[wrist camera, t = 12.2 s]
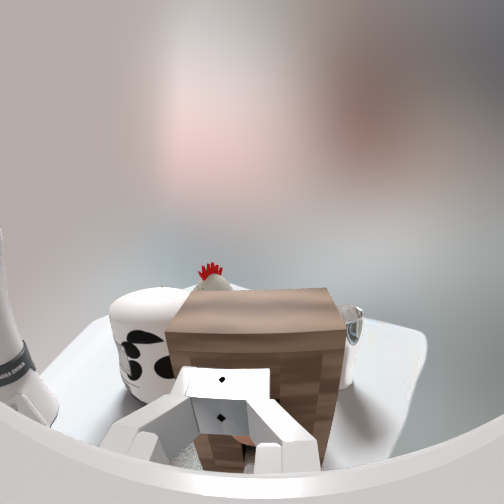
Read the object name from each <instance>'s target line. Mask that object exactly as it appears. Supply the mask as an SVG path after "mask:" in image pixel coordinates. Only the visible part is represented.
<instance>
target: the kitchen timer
mask: <svg viewBox="0 0 504 504" xmlns="http://www.w3.org/2000/svg"><path fill="white" fill-rule="evenodd" d="M218 267H219V266H218V265H216V266H214V263H213V262H212V263H211V268H210V264H207V271H206V269H205V267H204V266H202V273H201V272H199V271H198V273H199V275H200V277H201V280H200V281H199V282H198V284H197V285H196V287H195V288H194V291H233V289H232V287H231V286H230V284H229V283H228V282H227V280H226V279H224V278H223V277H222V276H221V273H222V269H223V268H221V267H220V269H219V271H218Z"/></svg>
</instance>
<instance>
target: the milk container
mask: <svg viewBox="0 0 504 504" xmlns="http://www.w3.org/2000/svg"><path fill="white" fill-rule="evenodd" d="M188 296H189V293H188V292H187V291H184V290H181V289H177V288H168V287H166V288H151V289H144V290H139V291H136V292H132V293H129V294H127V295H124V296H122V297H120V298H118V299H117V300H116V301H114V302H113V303H112V304H111V306H110V308H109V317H110V323H111V328H112V331H113V337H114V340H115V343H116V346H117V349H118V353H119V366H120V373H121V377H122V379H123V382H124V384H125V385H126V387H127V389H128V390H129V391H130V393H131V394H132V395H133V396H134V397H136V398H137V399H138V400H140V401H142V402H144V403H147V404H149V403H151V402H153V401H154V400H156V399H158V398H160V397H161V396H163V395H165V394H170V392H171V390H172V388H173V385H174V383H175V377H174V373H173V369H172V364H171V360H170V356H169V351H168V347H167V342H166V338H165V333H164V331H165V330H166V328H167V327H168V325H169V324H170V322H171V321H172V319H173V318H174V316H175V315H176V313H177V312H178V310H179V309H180V308H181V306H182V305H183V303H184V302H185V300H186V299H187V297H188Z"/></svg>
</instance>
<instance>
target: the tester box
mask: <svg viewBox="0 0 504 504" xmlns="http://www.w3.org/2000/svg"><path fill="white" fill-rule="evenodd" d="M164 333H165V338H166V342H167V347H168V351H169V356H170V360H171V364H172V369H173V373H174V377H175V381H176V379H177V377H178V375H179V372H180V370H181V368H182V367H183V366H191V367H206V368H222V369H260V368H269V369H270V399H276V402H277V403H278V404H279V405H280V406H281V407H282V408H283V409H284V410H285V411H286V412H287V413H288V414H289V415H290V416H291V417H292V418H293V419H295V420H296V421H297V422H298V423H299V424H300V425H301V426H302V427H303V428H304V429H305V430H306V431H307V432H308V433H310V434H311V435H312V436H313V437H314V438H315V439H316V440H317V446H318V453H319V460H320V467H322V463H323V459H324V455H325V451H326V447H327V443H328V439H329V434H330V430H331V426H332V421H333V416H334V411H335V406H336V401H337V396H338V390H339V384H340V378H341V372H342V365H343V359H344V351H345V344H346V336H347V328H346V326H345V323H344V321H343V319H342V317H341V315H340V313H339V311H338V309H337V307H336V305H335V304H334V302H333V300H332V298H331V296H330V294H329V292H328V290H327V288H309V289H281V290H240V291H192V292H191V293H190V294H189V296H188V297H187V299H186V300H185V302H184V303H183V305H182V306H181V308H180V309H179V310H178V312H177V313H176V315H175V316H174V318H173V319H172V321H171V322H170V324H169V325H168V327H167V328H166V330H165V331H164ZM193 442H194V445H195V448H196V451H197V454H198V457H199V459H200V462H201V465H202V468H203V470H204V471H214V472H226V473H243V470H244V461H245V452H246V444H243V443H241V442H239V441H237V440H236V439H234V438H233V436H232V435H219V434H202V433H199V436H197V437H196V438H195V439H194V440H193Z"/></svg>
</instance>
